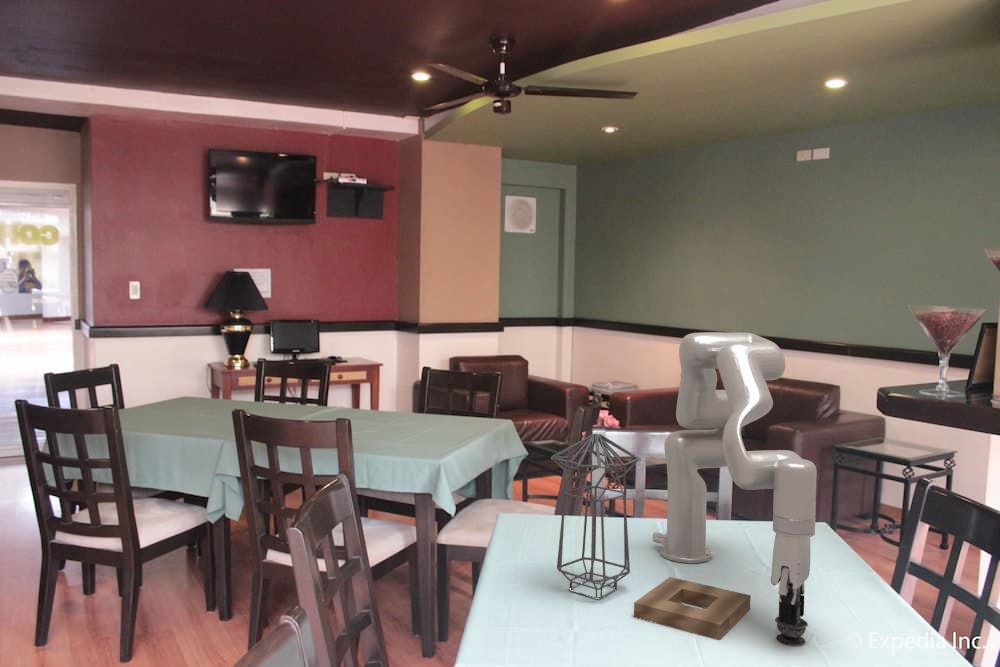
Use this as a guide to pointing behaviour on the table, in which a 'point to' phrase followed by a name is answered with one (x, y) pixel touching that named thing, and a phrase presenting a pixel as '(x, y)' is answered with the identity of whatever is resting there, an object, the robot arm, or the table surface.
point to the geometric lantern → (558, 459)
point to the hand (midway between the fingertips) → (791, 617)
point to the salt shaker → (792, 626)
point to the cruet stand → (710, 622)
